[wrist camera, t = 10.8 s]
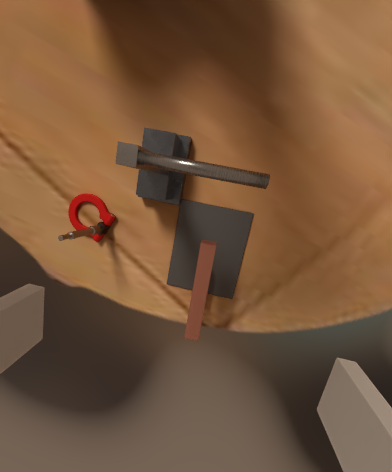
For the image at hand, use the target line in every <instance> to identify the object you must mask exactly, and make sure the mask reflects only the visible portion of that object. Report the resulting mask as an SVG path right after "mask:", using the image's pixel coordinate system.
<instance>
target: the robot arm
mask: <svg viewBox="0 0 392 472" xmlns="http://www.w3.org/2000/svg"><path fill="white" fill-rule="evenodd" d="M43 310H44V287H41V286H36V285H32V284H28V285H25V286H23V287H21V288H19V289H17V290H15V291H13V292H11V293H9V294H7V295H5V296H3V297H1V298H0V373H2V372H3V371H4V370H5V369H7V368H8V367H9V366H10V365H12V364H13V363H14V362H15V361H16V360H18V359H19V358H20V357H21V356H22V355H24V354H25V353H26V352H27V351H28V350H30V349H31V348H32V347H33V346H34V345H35V344H37V343H38V342H39V341H40V340H42V337H43ZM317 411H318V414H319V416H320V418H321V421H322V423H323V425H324V428H325V430H326V432H327V434H328V437H329V439H330V442H331V444H332V446H333V448H334V451H335V453H336V455H337V458H338V460H339V462H340V465H341V467H342V469H343V472H392V408H391V407H390V405H389V404H388V403H387V401H386V400H385V399H384V398H383V396H382V395H381V394H380V392H379V391H378V390H377V389H376V387H375V386H374V385H373V383H372V382H371V381H370V380H369V378H368V377H367V376H366V374H365V373H364V372H363V371H362V369H361V368H360V367H359V365H358V364H357V363H356V362H354V361H349V360H346V359H341V358H337V359H336V361H335V364H334V366H333V369H332V372H331V374H330V377H329V379H328V382H327V384H326V387H325V390H324V392H323V394H322V397H321V400H320V402H319V405H318V407H317Z"/></svg>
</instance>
